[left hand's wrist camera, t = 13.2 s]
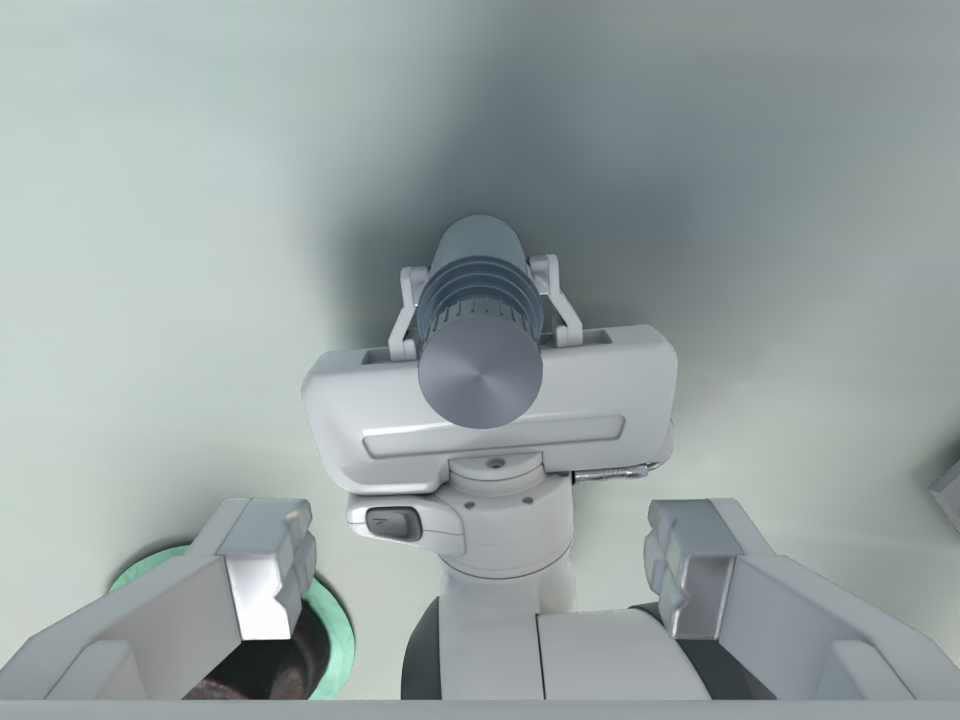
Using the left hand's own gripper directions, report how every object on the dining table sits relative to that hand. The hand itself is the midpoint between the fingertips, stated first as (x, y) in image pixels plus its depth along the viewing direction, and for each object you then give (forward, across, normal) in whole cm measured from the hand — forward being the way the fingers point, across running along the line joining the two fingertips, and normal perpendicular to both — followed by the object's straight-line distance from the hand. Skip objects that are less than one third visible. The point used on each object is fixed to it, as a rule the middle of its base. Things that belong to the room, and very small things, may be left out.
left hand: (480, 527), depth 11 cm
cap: (+8, 0, 0) cm, 8 cm away
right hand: (+20, 0, -1) cm, 20 cm away
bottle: (+26, 0, 0) cm, 26 cm away
